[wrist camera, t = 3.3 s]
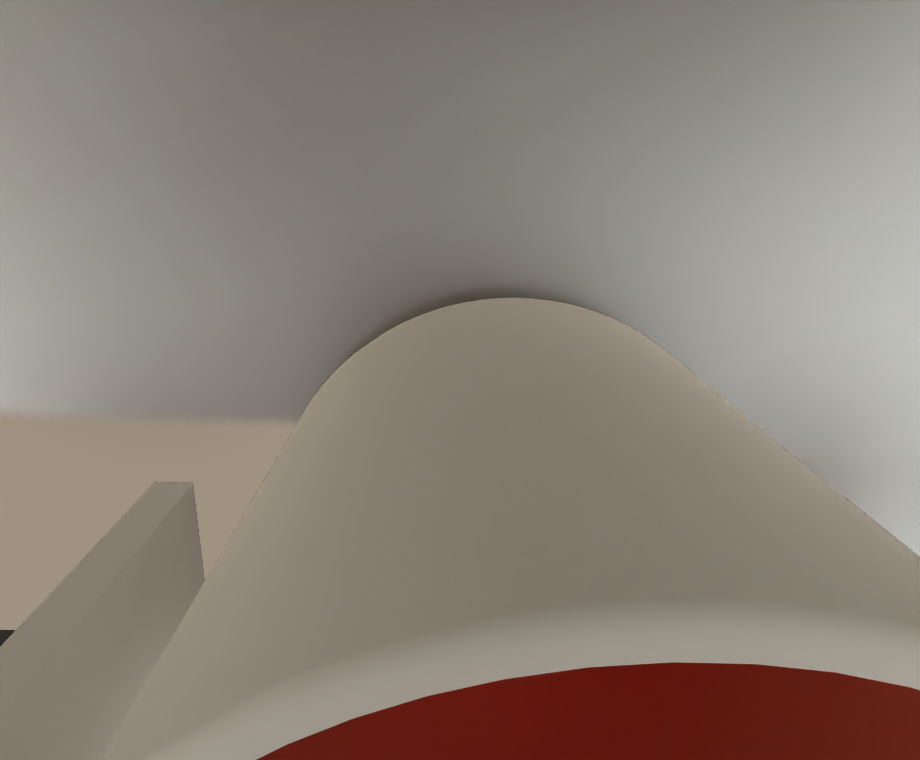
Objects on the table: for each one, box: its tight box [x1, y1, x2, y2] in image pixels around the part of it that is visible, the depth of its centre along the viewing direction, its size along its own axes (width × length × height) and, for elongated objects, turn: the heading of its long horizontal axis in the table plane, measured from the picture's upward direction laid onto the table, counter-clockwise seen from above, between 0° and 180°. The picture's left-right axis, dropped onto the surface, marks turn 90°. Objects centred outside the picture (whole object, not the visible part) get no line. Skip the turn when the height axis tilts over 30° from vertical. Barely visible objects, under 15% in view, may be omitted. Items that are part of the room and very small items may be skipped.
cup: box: [101, 298, 920, 760], centre depth 10 cm, size 10×10×10 cm
